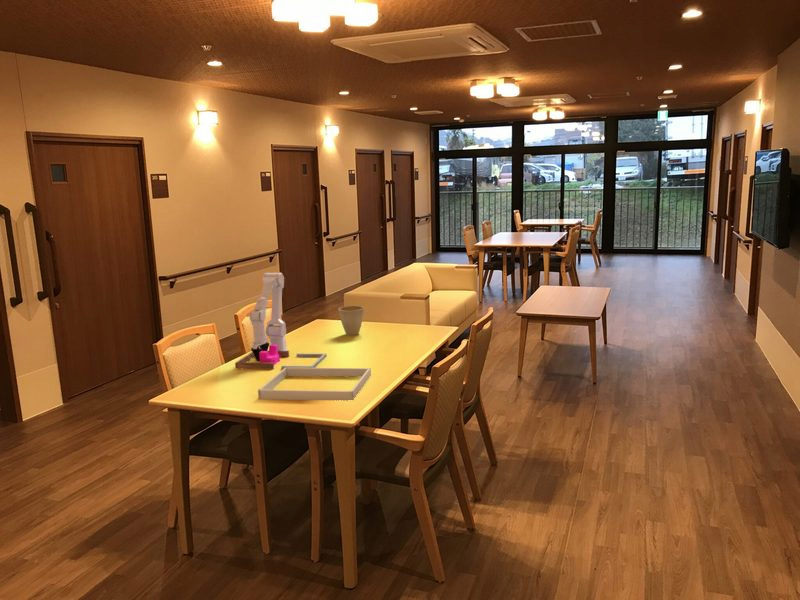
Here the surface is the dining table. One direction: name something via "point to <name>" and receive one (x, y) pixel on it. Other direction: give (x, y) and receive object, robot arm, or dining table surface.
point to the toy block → (270, 355)
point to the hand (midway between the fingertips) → (261, 358)
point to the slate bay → (308, 356)
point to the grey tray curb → (268, 393)
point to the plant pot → (351, 319)
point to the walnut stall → (244, 365)
